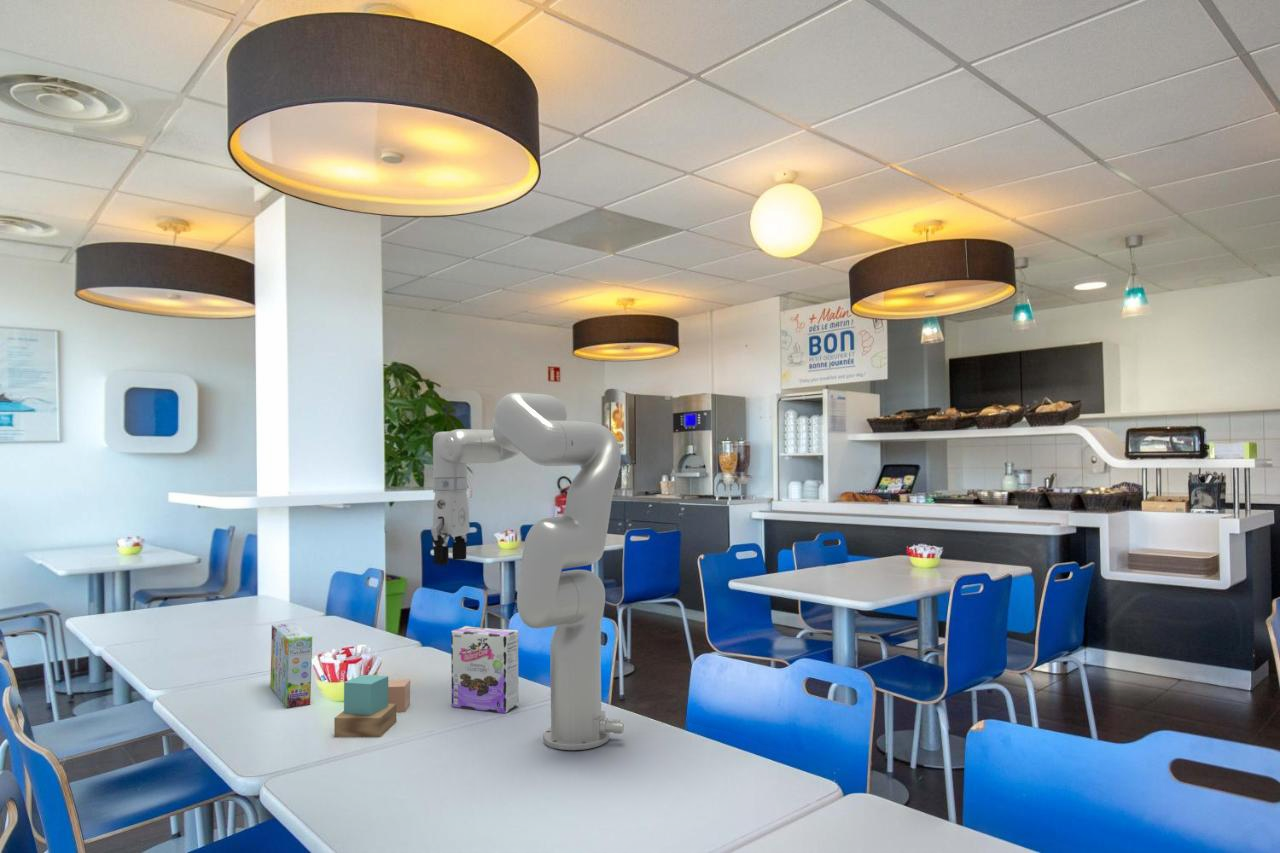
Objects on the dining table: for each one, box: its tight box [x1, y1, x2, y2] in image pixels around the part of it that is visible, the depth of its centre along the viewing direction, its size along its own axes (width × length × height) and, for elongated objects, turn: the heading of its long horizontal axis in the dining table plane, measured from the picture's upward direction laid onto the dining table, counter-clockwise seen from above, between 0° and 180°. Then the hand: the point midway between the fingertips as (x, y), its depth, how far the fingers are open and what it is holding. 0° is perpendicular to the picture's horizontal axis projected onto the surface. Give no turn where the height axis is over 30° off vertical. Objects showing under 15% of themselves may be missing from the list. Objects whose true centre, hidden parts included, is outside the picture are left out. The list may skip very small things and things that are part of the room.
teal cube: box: [343, 674, 389, 716], centre depth 158 cm, size 6×6×6 cm
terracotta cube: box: [388, 679, 411, 714], centre depth 170 cm, size 6×6×6 cm
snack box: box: [269, 621, 313, 709], centre depth 182 cm, size 21×6×15 cm, turn 34°
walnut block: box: [333, 704, 397, 738], centre depth 157 cm, size 9×9×4 cm
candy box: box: [450, 625, 519, 714], centre depth 171 cm, size 14×6×16 cm, turn 68°
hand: (450, 561), depth 179 cm, fingers open, 9 cm apart
